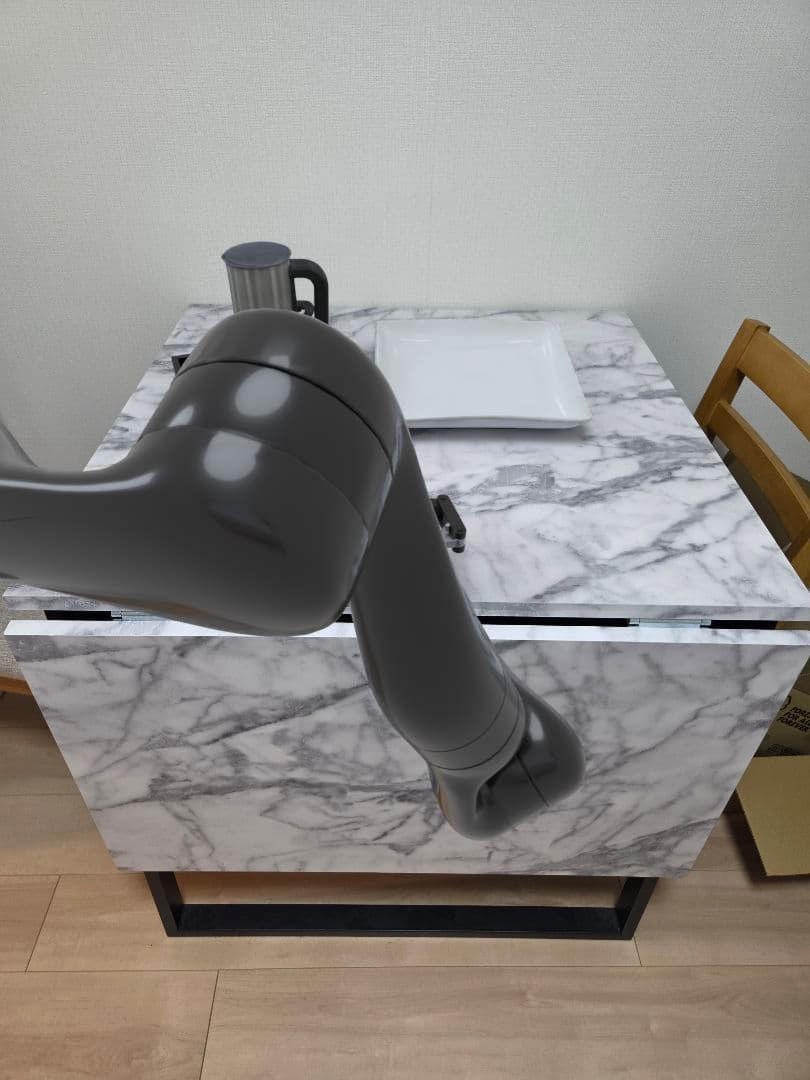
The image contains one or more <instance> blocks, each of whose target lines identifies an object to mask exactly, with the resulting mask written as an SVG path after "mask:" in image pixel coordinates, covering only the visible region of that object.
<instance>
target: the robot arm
mask: <svg viewBox="0 0 810 1080" xmlns="http://www.w3.org/2000/svg"><path fill="white" fill-rule="evenodd" d="M189 354H190V355H189V356H188V358H187V359H186V361H185V362H184V363H183V365H182V367H181V368H180V370H179V371H178V373H177V374H176V376H175V375H174V377H173V380H172V381H171V382H170V385H169V388H168V389H167V391H166V392H165V394H164V395H163V396H162V398H161V400H160V402H159V404H158V405H157V407H156V408H155V410H154V411H153V414H152V415H151V417H150V419H148V422H147V424H146V425H145V427H144V428H143V430H142V432H141V433H140V435H139V436H138V439H137V440H136V441H135V443H134V445H133V446H132V447H131V448H130V450H129V452H128V454H127V455H126V456H125V457H124V458H123V459H120V460H119V461H117V462H116V463H114V464H112V465H109V466H107V467H104V468H100V469H94V470H83V471H82V470H81V471H80V470H79V471H77V470H75V471H72V470H71V471H69V470H58V469H51V468H50V469H49V468H45V467H41V466H38V465H37V464H36V463H35V462H34V461H33V459H32V458H30V456H29V455H28V454H27V452H26V451H25V450H24V449H23V447H22V446H21V445H20V443H19V441H17V440H16V438H15V436H13V433H11V431H9V429H8V428H7V426H5V424H4V422H2V420H0V582H5V583H11V584H16V585H22V586H27V587H31V588H36V589H40V590H45V591H50V592H53V593H58V594H63V595H67V596H70V597H75V598H79V599H84V600H87V601H91V602H95V603H99V604H104V605H108V606H111V607H116V608H120V609H124V610H127V611H133V612H137V613H141V614H145V615H149V616H152V617H157V618H162V619H165V620H170V621H174V622H178V623H182V624H188V625H192V626H196V627H201V628H205V629H209V630H214V631H218V632H227V633H231V634H237V635H244V636H245V635H246V636H253V637H254V636H255V637H262V638H263V637H264V638H293V637H300V636H306V635H307V636H308V635H311V634H314V633H317V632H319V631H323V630H325V629H327V628H328V627H330V626H332V625H333V624H335V623H336V621H337V620H338V619H340V617H341V616H342V615H343V613H344V612H345V610H346V608H347V607H348V606H349V610H350V615H351V619H352V624H353V627H354V632H355V636H356V641H357V645H358V648H359V653H360V657H361V661H362V664H363V668H364V672H365V676H366V678H367V682H368V684H369V687H370V689H371V691H372V695H373V696H374V699H375V701H376V704H377V705H378V708H379V709H380V711H381V712H382V714H383V715H384V717H385V718H386V720H387V721H388V722H389V724H390V725H391V727H392V728H394V731H396V732H397V734H399V736H401V737H402V739H403V740H405V742H406V743H407V744H408V745H409V746H410V747H411V748H412V749H413V750H414V751H415V752H416V753H417V754H418V755H419V756H420V757H421V758H422V759H423V760H424V762H425V763H426V766H427V770H428V776H429V781H430V785H431V789H432V792H433V795H434V797H435V800H436V803H437V806H438V808H439V810H440V812H441V814H442V816H443V817H444V819H445V820H446V822H447V823H448V825H449V826H450V827H451V828H452V829H453V830H454V831H455V832H456V833H457V834H459V835H460V836H461V837H464V838H465V839H469V840H472V841H490V840H493V839H496V838H498V837H500V836H503V835H505V834H506V833H508V832H510V831H512V830H513V829H515V828H516V827H518V826H520V825H521V824H523V823H525V822H527V821H529V820H530V819H532V818H534V817H535V816H537V815H539V814H542V813H543V812H545V811H546V810H548V809H549V808H550V807H554V806H555V805H557V804H559V803H561V802H562V801H564V800H565V799H567V798H569V797H570V796H572V795H573V794H574V793H576V792H577V791H578V790H579V789H580V788H581V786H582V785H583V784H584V780H585V778H586V774H587V757H586V752H585V748H584V745H583V743H582V741H581V739H580V737H579V735H578V734H577V733H576V730H575V729H574V728H573V727H572V726H571V724H570V723H569V722H568V721H567V720H566V719H565V718H564V717H563V716H562V715H561V714H560V713H559V711H557V710H556V709H555V708H554V707H553V706H552V705H551V704H549V703H548V702H547V701H546V700H544V699H543V698H542V697H541V696H540V695H538V694H537V693H536V692H535V691H534V690H533V689H531V688H530V687H529V686H528V685H527V684H526V683H525V682H524V681H522V679H521V678H520V677H519V676H518V675H517V674H516V673H515V672H514V671H513V670H512V669H511V668H510V666H509V665H508V664H507V663H506V661H505V660H504V658H502V656H501V655H500V653H499V651H498V650H497V648H496V647H495V645H494V643H493V641H492V640H491V638H490V637H489V635H488V634H487V631H486V630H485V628H484V626H483V624H482V623H481V621H480V620H479V618H478V615H477V613H476V610H475V607H474V604H473V603H472V601H471V598H470V596H469V595H468V592H466V590H465V588H464V587H463V585H462V583H461V581H460V580H459V576H458V574H457V571H456V568H455V567H454V566H455V565H454V563H453V560H452V557H451V555H450V551H449V549H451V551H452V552H453V553H455V554H462V553H464V552H465V549H466V539H467V528H466V525H465V524H464V522H463V520H462V518H461V516H460V514H459V512H458V511H457V509H456V507H455V505H454V503H453V502H452V499H451V498H450V496H449V495H448V494H443V493H442V494H439V495H437V496H436V497H430V495H429V492H428V488H427V485H426V482H425V478H424V475H423V471H422V469H421V466H420V465H421V464H420V461H419V458H418V455H417V451H416V448H415V445H414V442H413V439H412V435H411V433H410V428H408V426H407V423H406V421H405V418H404V415H403V412H402V410H401V407H400V405H399V402H398V400H397V398H396V396H395V394H394V392H393V390H392V388H391V386H390V384H389V382H388V381H387V379H386V378H385V376H384V375H383V373H382V372H381V370H380V369H379V367H378V366H377V365H376V364H375V360H373V359H372V358H371V356H370V355H368V354H367V353H366V351H365V350H364V349H362V347H361V346H360V345H359V344H358V343H356V342H355V341H354V340H352V339H351V338H349V337H348V336H347V335H346V334H344V333H343V332H341V331H340V330H339V329H337V328H335V327H334V326H332V325H328V324H326V323H324V322H322V321H320V320H318V319H316V318H314V316H312V317H311V316H307V315H304V314H303V313H301V312H294V311H288V310H280V309H271V308H262V309H250V310H244V311H241V312H238V313H235V314H234V313H233V314H231V315H229V316H226V317H224V318H223V319H222V320H220V321H219V322H218V323H216V324H215V325H213V326H211V328H210V329H208V330H207V332H206V333H205V334H204V335H203V336H202V338H201V339H199V341H198V342H197V344H196V345H195V346H194V347H193V349H192V350H191V351H190V353H189Z"/></svg>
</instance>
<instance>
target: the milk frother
mask: <svg viewBox="0 0 810 1080" xmlns="http://www.w3.org/2000/svg"><path fill="white" fill-rule="evenodd" d="M291 257H292V250H291V248H290V247H289V246H287V245H285V244H282V243H278V242H274V241H264V240H263V241H262V240H261V241H251V242H250V241H249V242H244V243H240V244H236V245H233V246H231V247H229V248H228V249H226V250H225V251H224V252H223V253H222V254H221V258H220V259H221V260H222V261H223V262H224V264H225V267H226V273H227V280H228V286H229V292H230V298H231V299H230V300H231V304H232V311H233V314H235V313H238V312H241V311H244V310H250V309H262V308H271V309H280V310H288V311H294V312H298V313H301V312H302V311H304V312H303V313H302V314H304V315H307V316H311V317H314V318H316V319H318V320H320V321H322V322H324V323H326V324H328V325H329V322H330V321H329V320H330V317H329V315H330V314H329V312H330V309H329V308H330V307H329V306H330V302H329V300H330V297H329V295H330V293H329V291H330V289H329V287H330V286H329V280H328V277H327V274H326V272H325V271H324V269H323V268H322V267H321V266H320V264H318V263H317V262H315V261H314V260H311V259H308V258H291ZM295 279H306V280H309V281H310V282H311V283H312V285H313V303H312V301H310V300H305V299H303V300H302V299H297V290H296V281H295Z"/></svg>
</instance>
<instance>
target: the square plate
mask: <svg viewBox="0 0 810 1080" xmlns="http://www.w3.org/2000/svg"><path fill="white" fill-rule="evenodd" d="M374 362H375V364H376V365H377V366H378V367H379V369H380V370H381V372H382V373H383V375H384V376H385V378H386V379H387V381H388V382H389V384H390V386H391V388H392V390H393V392H394V394H395V396H396V398H397V400H398V402H399V405H400V407H401V410H402V412H403V415H404V418H405V421H406V423H407V426H408V429H437V428H439V429H441V428H443V429H445V428H446V429H447V428H450V429H453V428H455V429H456V428H459V429H460V428H461V429H465V428H469V429H471V428H472V429H473V428H474V429H476V428H479V429H570V428H575V427H578V426H582V425H583V424H586V423H589V421H591V420H592V419H593V415H592V412H591V409H590V406H589V403H588V401H587V399H586V395H585V394H584V391H583V388H582V385H581V384H580V381H579V378H578V376H577V373H576V370H575V368H574V364H573V362H572V359H571V357H570V353H569V350H568V347H567V345H566V340H565V339H564V336H563V333H562V330H561V328H560V325H559V324H558V323H557V322H555V321H545V320H544V321H543V320H519V319H518V320H517V319H487V318H486V319H483V318H482V319H480V318H440V319H439V318H430V319H429V318H428V319H427V318H426V319H424V318H423V319H385V320H383V319H382V320H381V319H380V320H377V321H376V322H375V325H374Z"/></svg>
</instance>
